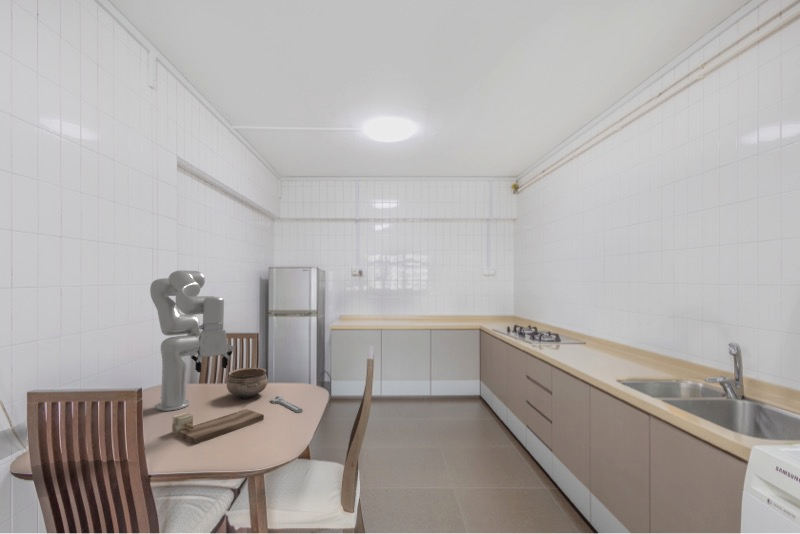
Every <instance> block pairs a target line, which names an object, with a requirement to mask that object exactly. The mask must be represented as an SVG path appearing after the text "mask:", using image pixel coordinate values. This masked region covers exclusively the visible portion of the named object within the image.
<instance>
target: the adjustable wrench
mask: <svg viewBox="0 0 800 534" xmlns="http://www.w3.org/2000/svg"><path fill="white" fill-rule="evenodd" d="M270 403H272V404H279V405H281V406H283V407H285V408H287V409H289V410H291V411H293V412H295V413H297V414H302V413H303V411H304V410H303V408H302V407H299V406H297V405H295V404H294V403H291V402H289V401H288V400H285V397H284V396H283V395H276V396H275V398H273V397H270Z"/></svg>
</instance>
